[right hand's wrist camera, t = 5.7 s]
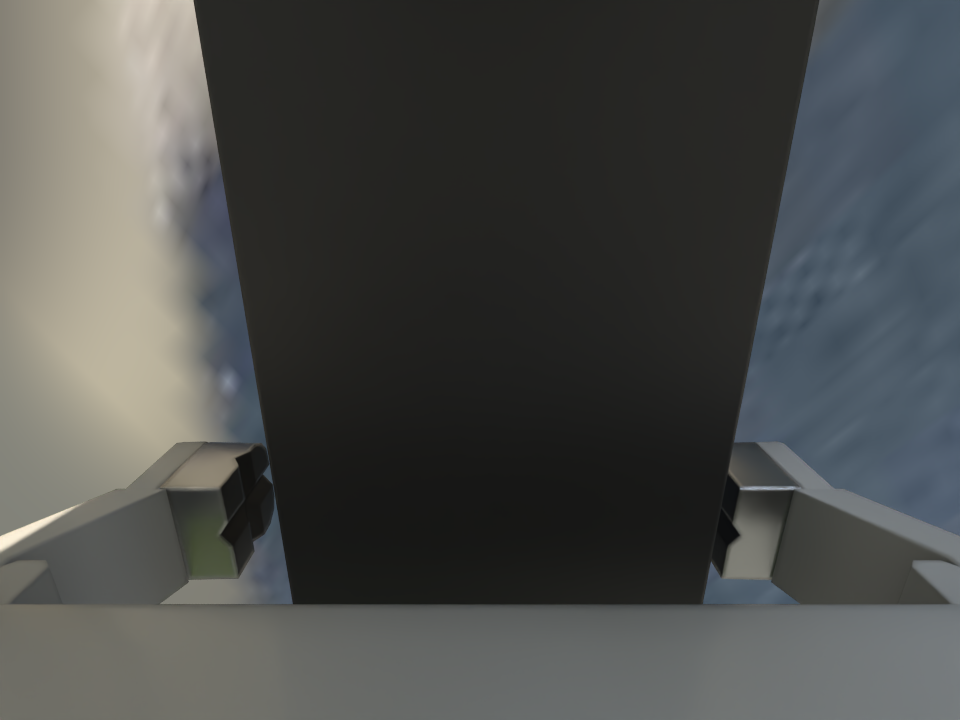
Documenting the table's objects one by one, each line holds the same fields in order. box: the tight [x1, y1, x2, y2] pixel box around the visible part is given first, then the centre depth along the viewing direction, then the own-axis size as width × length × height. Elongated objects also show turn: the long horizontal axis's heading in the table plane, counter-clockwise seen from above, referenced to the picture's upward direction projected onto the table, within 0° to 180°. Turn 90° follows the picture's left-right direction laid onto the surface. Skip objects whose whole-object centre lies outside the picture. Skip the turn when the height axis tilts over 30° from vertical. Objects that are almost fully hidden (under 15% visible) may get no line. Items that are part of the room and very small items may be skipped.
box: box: [194, 0, 819, 604], centre depth 11 cm, size 20×6×12 cm, turn 0°
